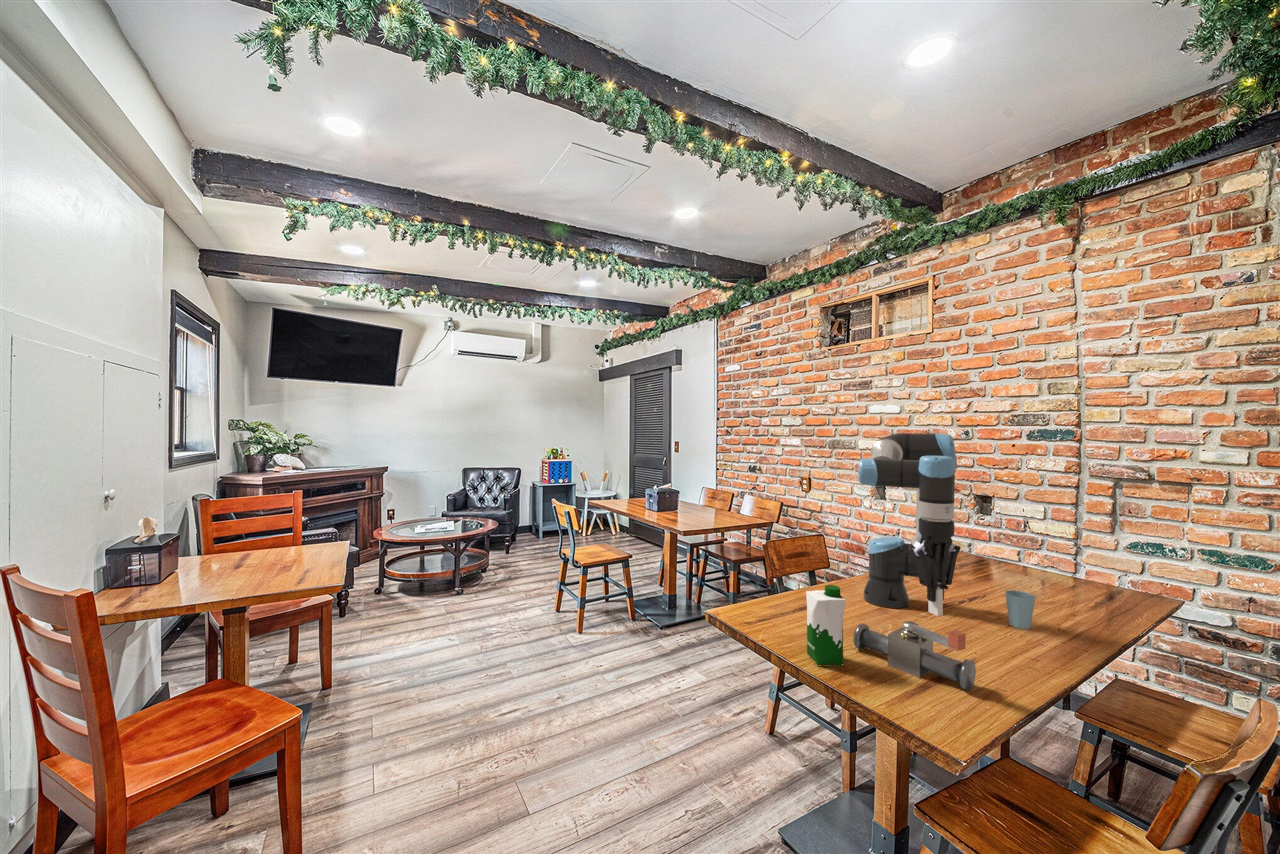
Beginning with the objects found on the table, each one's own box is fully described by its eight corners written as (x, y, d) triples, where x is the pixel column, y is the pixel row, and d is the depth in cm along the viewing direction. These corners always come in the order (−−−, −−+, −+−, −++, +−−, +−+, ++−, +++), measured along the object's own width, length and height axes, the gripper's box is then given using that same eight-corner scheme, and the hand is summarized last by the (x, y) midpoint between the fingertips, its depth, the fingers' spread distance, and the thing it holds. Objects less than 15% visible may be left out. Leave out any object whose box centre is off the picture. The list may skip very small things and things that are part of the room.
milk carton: (848, 667, 128) (849, 592, 128) (815, 668, 128) (816, 593, 128) (832, 652, 137) (833, 582, 137) (802, 653, 136) (802, 582, 136)
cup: (1040, 628, 155) (1040, 596, 155) (1026, 632, 152) (1026, 599, 152) (1014, 619, 162) (1014, 589, 162) (1000, 623, 159) (1000, 592, 159)
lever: (899, 629, 130) (899, 613, 130) (909, 627, 131) (909, 611, 131) (956, 654, 116) (956, 636, 116) (966, 651, 117) (966, 633, 117)
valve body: (852, 651, 138) (852, 617, 138) (866, 644, 142) (866, 611, 142) (963, 695, 115) (964, 654, 115) (976, 684, 120) (976, 645, 120)
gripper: (927, 523, 113) (926, 623, 113) (971, 520, 116) (970, 616, 117) (902, 517, 120) (901, 610, 120) (944, 514, 123) (943, 605, 124)
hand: (935, 613), depth 119 cm, fingers closed
